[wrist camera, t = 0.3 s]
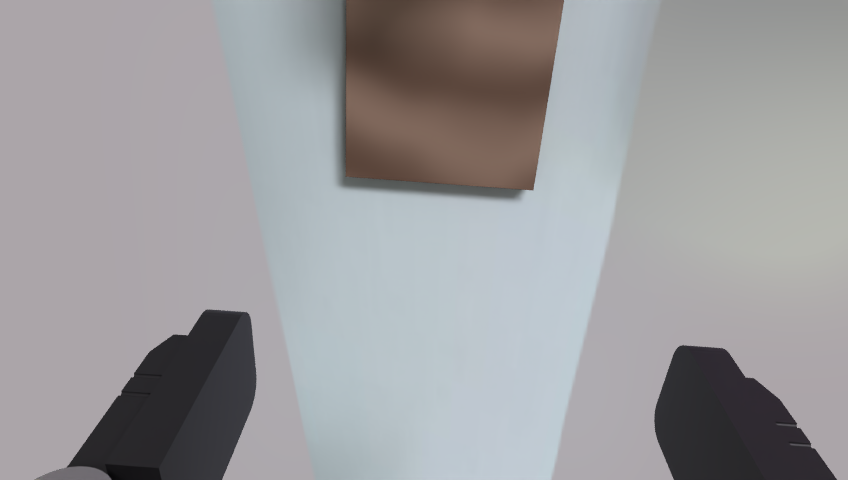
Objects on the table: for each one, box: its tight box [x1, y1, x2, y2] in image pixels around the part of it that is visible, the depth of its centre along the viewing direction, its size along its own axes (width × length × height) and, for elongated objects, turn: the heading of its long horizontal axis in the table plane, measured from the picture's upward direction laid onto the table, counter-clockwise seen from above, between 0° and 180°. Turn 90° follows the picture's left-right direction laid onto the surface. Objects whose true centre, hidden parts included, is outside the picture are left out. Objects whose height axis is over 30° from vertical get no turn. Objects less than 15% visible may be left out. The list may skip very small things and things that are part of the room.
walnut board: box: [346, 0, 564, 190], centre depth 34 cm, size 14×12×2 cm
